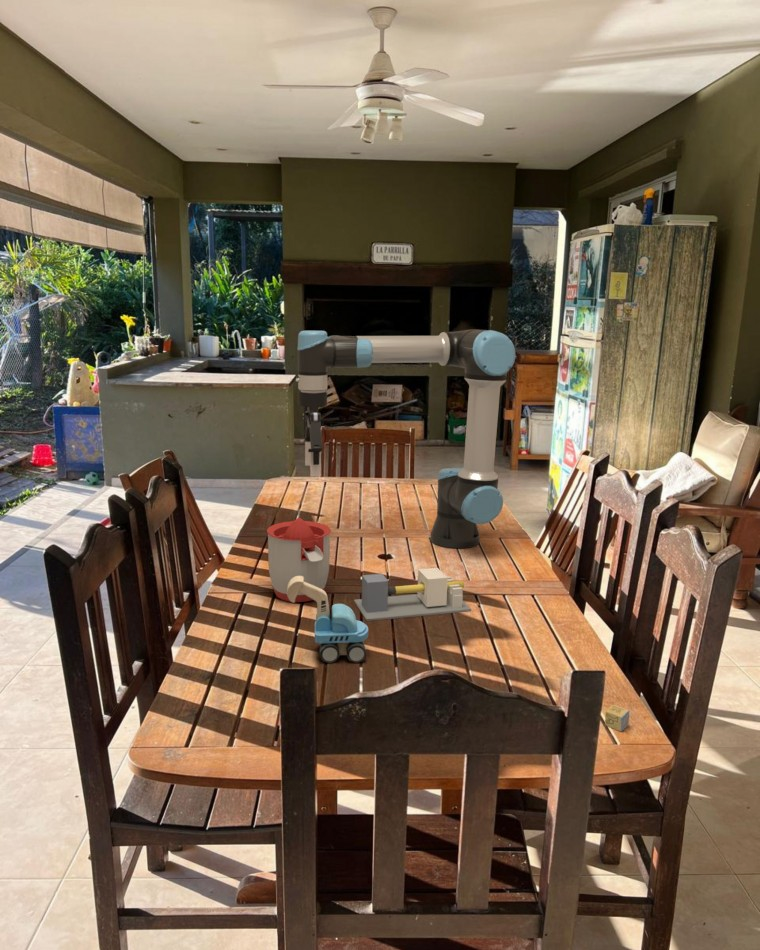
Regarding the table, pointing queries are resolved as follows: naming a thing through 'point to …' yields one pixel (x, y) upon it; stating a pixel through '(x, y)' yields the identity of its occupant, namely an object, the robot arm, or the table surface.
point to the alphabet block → (617, 718)
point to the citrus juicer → (298, 555)
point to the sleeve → (433, 587)
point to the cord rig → (404, 599)
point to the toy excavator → (332, 624)
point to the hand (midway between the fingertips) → (312, 470)
